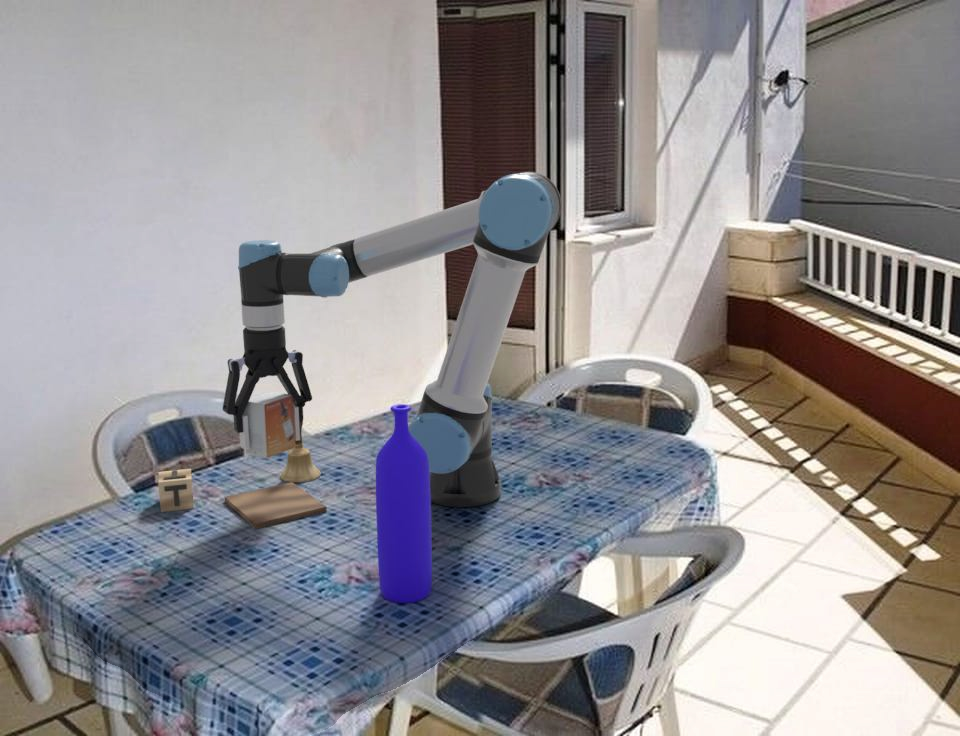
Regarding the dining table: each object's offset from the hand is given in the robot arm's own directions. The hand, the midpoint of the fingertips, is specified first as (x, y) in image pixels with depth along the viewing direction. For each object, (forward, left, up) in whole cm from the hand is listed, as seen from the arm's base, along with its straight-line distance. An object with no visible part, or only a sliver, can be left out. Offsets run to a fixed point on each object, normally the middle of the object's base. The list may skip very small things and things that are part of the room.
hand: (270, 443), depth 182 cm
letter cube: (+12, +15, -13) cm, 23 cm away
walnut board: (0, 0, -13) cm, 13 cm away
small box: (0, 0, -2) cm, 2 cm away
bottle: (-45, -3, -13) cm, 47 cm away
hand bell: (+13, -11, -13) cm, 21 cm away
